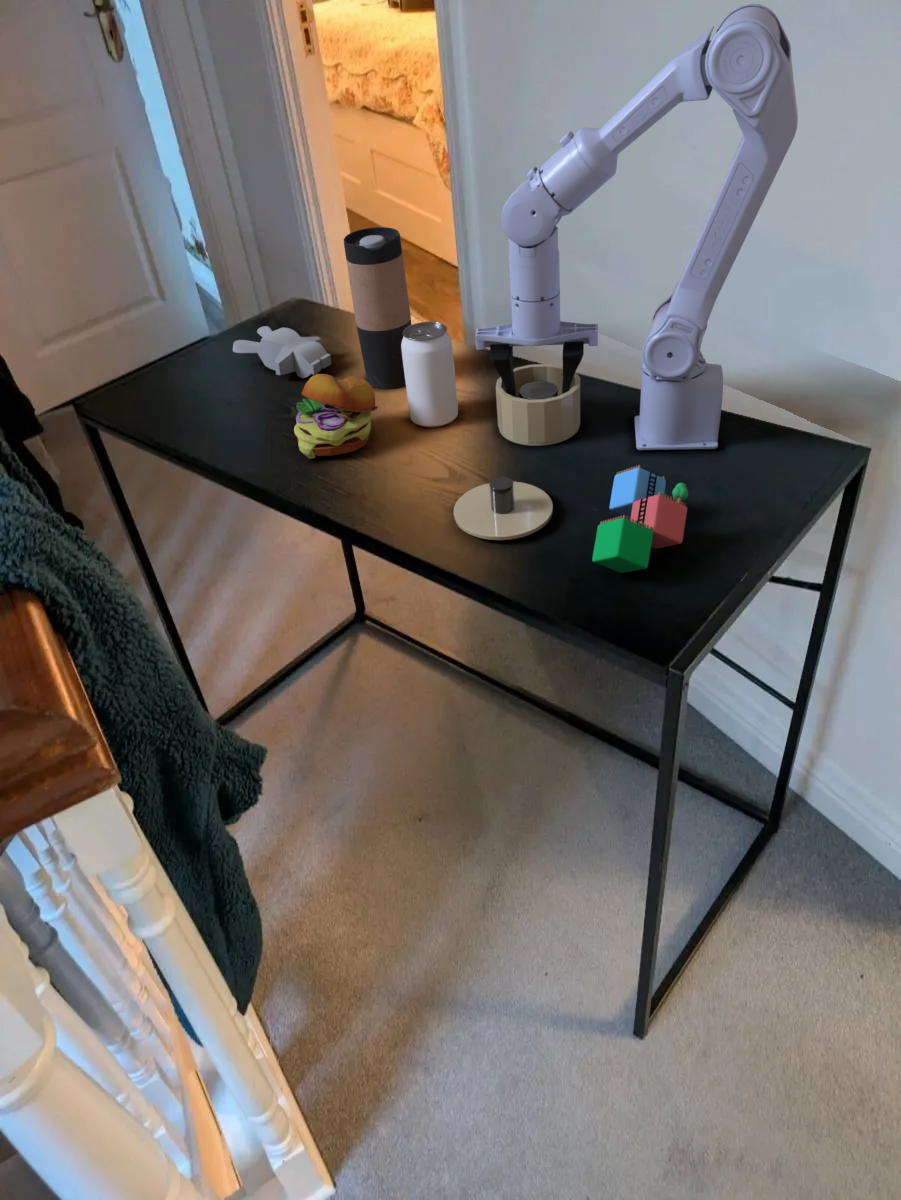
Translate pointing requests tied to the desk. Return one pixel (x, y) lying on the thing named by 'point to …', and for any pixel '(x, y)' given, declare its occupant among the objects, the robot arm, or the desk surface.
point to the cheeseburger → (334, 415)
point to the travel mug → (379, 302)
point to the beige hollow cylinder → (538, 408)
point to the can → (429, 374)
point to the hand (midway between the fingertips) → (538, 399)
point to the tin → (538, 390)
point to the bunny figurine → (287, 351)
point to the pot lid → (503, 510)
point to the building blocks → (639, 520)
